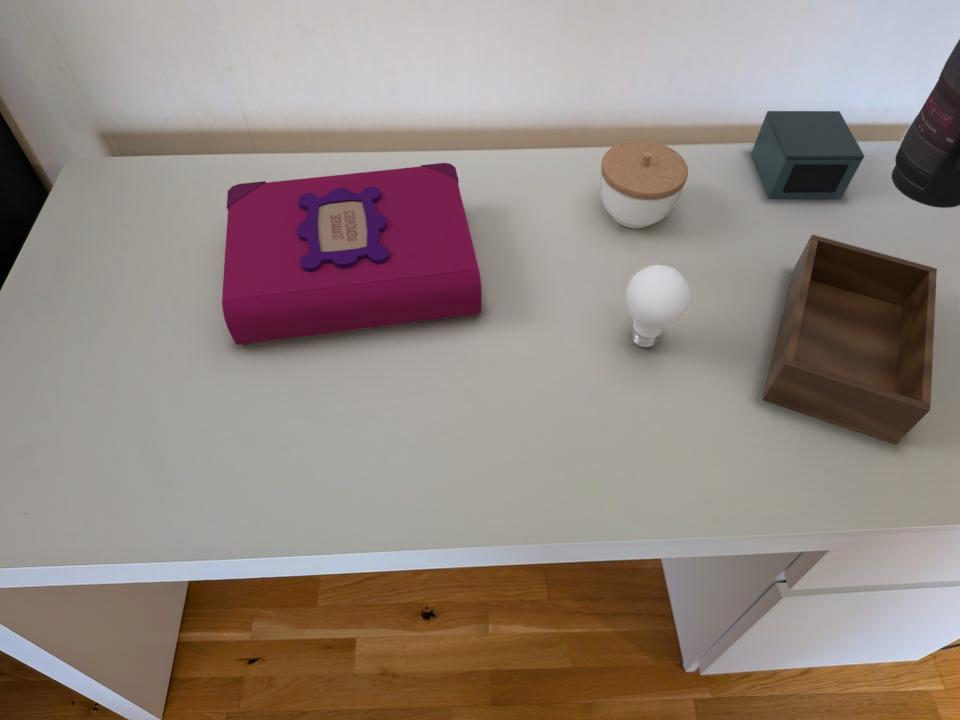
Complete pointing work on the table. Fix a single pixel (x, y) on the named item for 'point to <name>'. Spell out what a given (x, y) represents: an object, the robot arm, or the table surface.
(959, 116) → the camera lens
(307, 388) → the table surface
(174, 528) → the table surface
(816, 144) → the cabinet block
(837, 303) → the wooden box
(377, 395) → the table surface
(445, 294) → the book
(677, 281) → the light bulb
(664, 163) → the trinket box
